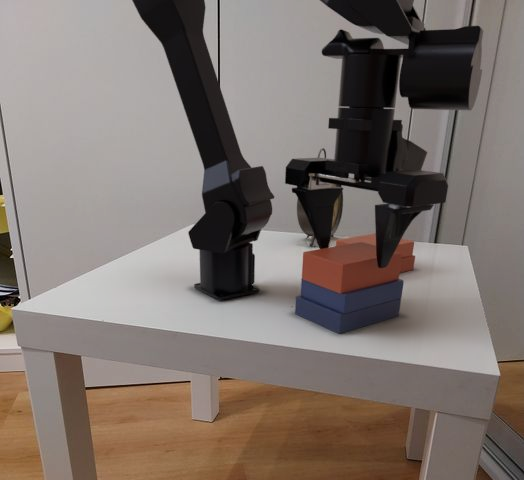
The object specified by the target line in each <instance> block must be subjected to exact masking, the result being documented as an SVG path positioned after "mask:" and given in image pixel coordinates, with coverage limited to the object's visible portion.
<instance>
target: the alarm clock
mask: <svg viewBox="0 0 524 480" xmlns="http://www.w3.org/2000/svg"><path fill="white" fill-rule="evenodd" d="M326 151H327V150H326V149H325V148H324V147H322V148H320V150H319V151H318V154H317V158H321V157H320V156H321V153H322V152H323V155H324V158H327V152H326ZM332 186H336V187H341V188H343V185H337V184H332ZM343 191H344V190H342V192H341V194H340V195H339V197H338V198H337V200H336V202H335V204H334V213H333V222H332V230H331V238H334V236H335V235H334V234H335V233H336V232H337V231H338V228H339V225H340V223H341V220H342V216H343V210H344V209H343V208H344V192H343ZM296 217H297V222H298V226H299V227H300V229H301V231H302V232H303V233H304V234H305V235H306V238H305V240H308V239H309V238H310V237H311V240H310V243H309V246H310V248H311V247H314V243H315V241H316V238H315V236H314V233H313V231H312V228H311V226H310V223H309V221H308V218H307V216H306V214H305V212H304V210H303V208H302V206H301V203H300V201H299V199H298V198H297V201H296Z"/></svg>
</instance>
